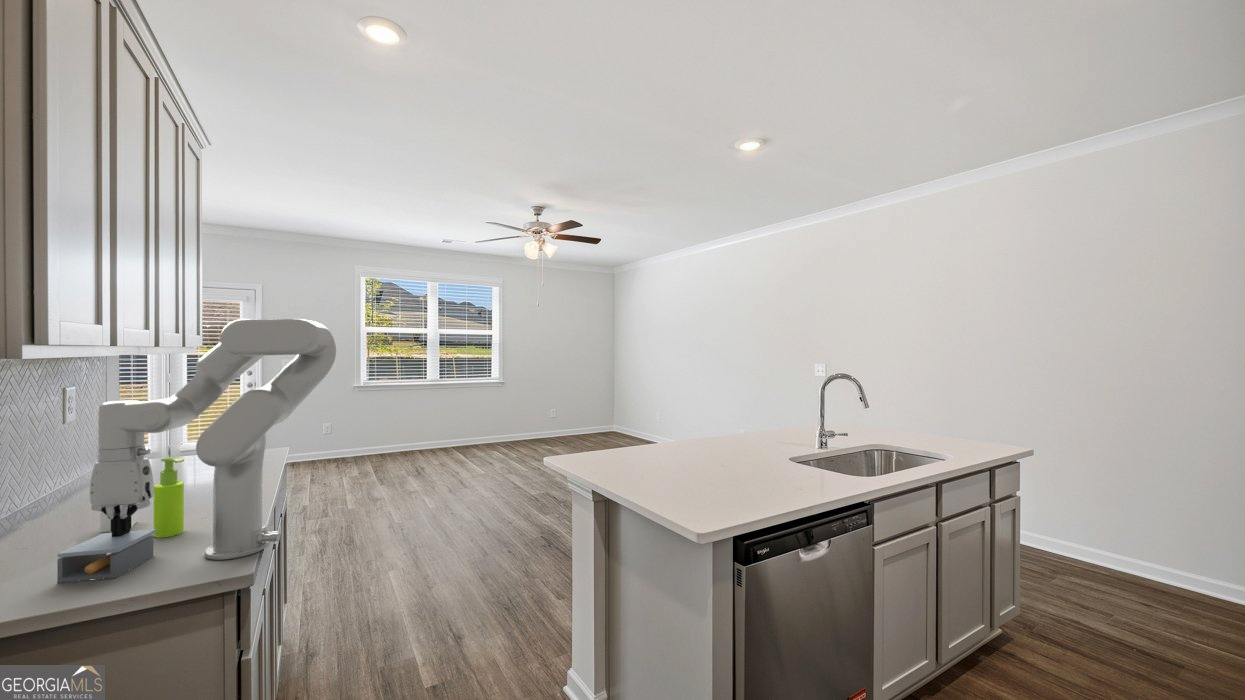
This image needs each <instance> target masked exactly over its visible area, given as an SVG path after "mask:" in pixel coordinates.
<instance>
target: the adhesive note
mask: <svg viewBox="0 0 1245 700" xmlns="http://www.w3.org/2000/svg"><path fill="white" fill-rule="evenodd" d="M121 507H122V505H121ZM136 522H137V523H138V510H137V511H136V512H135V513H134V514H133V515H131V529H132V528H133V527H134V526H135V525H136V524H137V523H136ZM135 523H136V524H135ZM134 524H135V525H134ZM99 525H100V529H99V530H100V532H99V533H100V534H102V533H110V532H111V519H108V518H107V515H106V514H104V513H103V512H102V511H101V512H100V523H99ZM133 525H134V526H133Z"/></svg>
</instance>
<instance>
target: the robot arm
mask: <svg viewBox="0 0 1245 700" xmlns="http://www.w3.org/2000/svg"><path fill="white" fill-rule="evenodd" d="M219 335H220V336H219V341H220V342H218V343H217V344H216V345H215V346H214V347H212V348H211V349H210V350H208V351H207V352H206V353H205V354H204V355H202V356H201V357H200V358H198V360H197V361H196V363H195V367H196V372H195V374H194V376H193V377H192V378H191V379H190V380H189V381H188V383H187V382H186V384H185V385H183V387H182V388H180V389H179V390H177V392H175V393H174V394H173V395H171V396H170V397H164V398H158V399H154V400H148V401H140V400H138V399H135V400H134V399H127V400H126V399H123V400H122V399H120V400H118V399H117V400H110V401H109V400H108V401H105V402H103V403H101V404H100V405H99V408H98V430H97V431H98V432H97V433H98V435H97V436H98V439H97V440H98V446H97V447H98V449H97V461H96V462H94V465H93V469H92V473H91V478H90V484H89V485H90V486H89V503H90V504H91V507H90V509H91V511H95V512H100V513H101V511H102V512H103V513H104V514H106V515H107V518H108V519H111V531H110V533H112V537H116V536H122V535H124V534H127V533H129V532H130V531H131V529H132V528H131V515H133V514H134V513H135V512H136V511H137V512H138V510H141V509H145V508H148V507H149V506H151V499H152V498H154V486H155V485H154V474H153V469H152V465H151V462H150V459H149V457H146V455H149V454H151V453H150V452H151V449H150V448H146V445H145V433H146V434H147V433H148V434H159V433H163V432H168V431H170V430H174V429H177V428H180V427H184V426H187V425H188V424H190V423H192V422H193V421H194V420H195V419H196V418H197V417H199V416H200V415H202V414H203V413H204V412H205V411H206V410H208V409H209V408H210V407H211V406H212V405H213V404H214V403H215V402H217V400H219V399H220V398H221V396H222V395H223V394H224V393H225V391H226V390H227V389H228V388H229V386H230V385H231V384H232V383H233V382H235V381H236V380H237V379H238V378H239V377H241V376H242V375H243V374H244V373H245V372H247V370H249V369H250V368H251V367H252V366H253V365H255V364H256V363H257V362H258V361H260V360H261V359H262V358H263V357H264V356H287V355H288V356H289V355H292V356H293V355H295V357H294V358H293V359H292V360H290V361H289V362H288V363H287V364H286V365H285V366H283V368H281V370H280V371H279V372H278V373H277V374H276V375H275V376H274V377H273V378H272V379H270V381H268V382H267V383H266V384H265V385H263V386H260V387H258V388H253V389H250V390H248V391H246V392H244V393H243V394H241V395H240V396H239V397H237V398H236V399H235V400H234V401H233V402H232V403H231V404H230V405H229V406H227V408H226V409H225V410H224V411H223V412H221V414H220V415H219V416H218V417H217V418H216V419H214V421H213V422H211V424H209V425H208V426H207V427H206V429H204V431H203V432H202V433H201V434H200V436H199V437H198V439H197V441H196V446H195V451H196V455H197V457H198V459H199V460H200V461H201V462H202V463H203V464H206V465H208V466H211V467H214V471H213V472H214V473H213V485H212V486H213V487H212V488H213V490H212V497H213V498H212V504H213V505H212V508H213V511H212V517H213V519H212V530H213V531H212V545H210V546H208V547H206V548H205V550H204V557H205V558H206V559H208V560H214V561H215V560H217V561H219V560H232V559H237V558H238V559H239V558H241V557H242V558H243V557H246V556H250V555H253V554H257V553H259V552H261V551H263V550H265V549H266V548H268V547H269V546H270V543H271V542H279V541H280V540H281V533H280V531H279V530H273V531H269V530H268V526H267V525H263V483H264V482H263V479H264V478H263V475H264V474H263V473H264V472H263V471H264V470H263V469H264V457H265V450H266V434H267V432H268V431H270V430H271V429H272V428H273V427H274V426H276V425H278V424H280V423H282V422H284V421H285V420H287V419H288V418H289V417H290V415H291V414H293V412H294V411H295V410H296V409H297V408H298V407H299V405H300V404H301V403H302V402H303V401H305V400H306V398H307V397H308V396H309V395H310V394H311V393H312V392H313V391H314V389H315V388H316V387H317V386H319V384H320V383H321V382H322V381H323V380H324V378H326V377H327V375H328V374H329V372H330V371H331V369H332V368H333V365H334V363H335V361H336V356H337V355H336V354H337V347H336V341H335V338H334V336H333V335H332V333H331V331H330V330H329V328H327V326H326V325H324V324H322V323H319V322H317V321H314V320H308V319H302V318H275V319H274V318H273V319H271V318H269V319H268V318H266V319H265V318H264V319H262V318H261V319H259V318H258V319H257V318H255V319H253V318H250V319H249V318H241V319H235V320H233V321H230V322H229V323H227V324H226V325H225V326H224V327H223V329H222V330H221V332H220V334H219ZM121 505H122V507H121Z"/></svg>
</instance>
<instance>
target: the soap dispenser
mask: <svg viewBox="0 0 1245 700" xmlns="http://www.w3.org/2000/svg"><path fill="white" fill-rule="evenodd" d="M184 461H185V459H183V458H181V457H167V458H161V459H160V462H164V469H163V470H162V471H160V477H159V478H160V483H157V484H155V485H154V495H153V529H156V533H155V534H153V538H155V537H156V539H163V537H164V538H169V537H174V536H177V535H180V534H182V533H184V529H185V528H184V522H185V521H184V513H185V512H184V511H185V510H184V505H185V504H184V500H185V499H184V498H185V497H184V496H185V495H184V491H185V490H184V489H185V488H184V487H185V484H184V483H185V482H184V481H179V480H178V469H175V468H174V463H175V464H176V463H177V464H178V463H182V462H184Z"/></svg>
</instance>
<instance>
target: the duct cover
mask: <svg viewBox="0 0 1245 700" xmlns="http://www.w3.org/2000/svg"><path fill="white" fill-rule="evenodd" d="M155 533H156V529H154V528H153V529H141V530H130V532H129V533H127V534H124V535H122V536H116V537H112V532H101V533H100V534H97V535H96V536H93V537H91V538H89V539H87V540H85V541H83V542H80V543H79V544H76V545H74V546H72V547H69V548H67V549H64V550H63V551H60V552H59V553H58V552H57V554H56V555H57V558H61V557H70V556H81V555H93V554H104V553H107V554H111V553H116V552H120V551H122V550H124V549H126V548H127V547H129V546H131V545H133V544H135V543H137V542H139V541H141V540H143V539H145V538H147V537H149V536H151V535H153V536H154V534H155Z"/></svg>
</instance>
